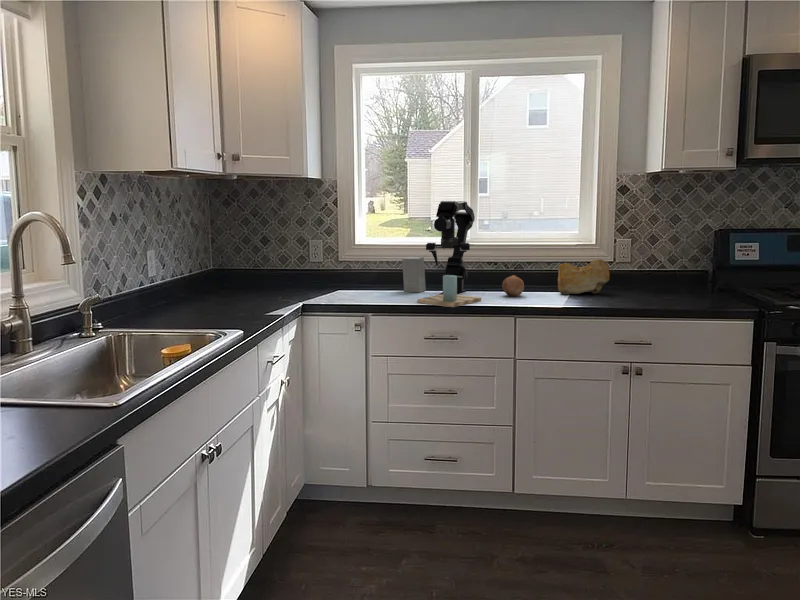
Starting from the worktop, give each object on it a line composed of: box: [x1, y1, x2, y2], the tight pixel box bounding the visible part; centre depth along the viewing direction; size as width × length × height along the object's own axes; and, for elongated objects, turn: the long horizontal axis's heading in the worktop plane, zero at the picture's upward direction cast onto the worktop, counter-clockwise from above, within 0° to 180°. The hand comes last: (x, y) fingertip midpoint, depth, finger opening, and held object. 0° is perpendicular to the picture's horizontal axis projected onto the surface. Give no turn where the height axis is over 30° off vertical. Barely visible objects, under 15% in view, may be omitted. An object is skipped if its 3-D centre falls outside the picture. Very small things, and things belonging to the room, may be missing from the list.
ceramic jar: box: [442, 274, 458, 302], centre depth 270 cm, size 6×6×10 cm
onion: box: [501, 274, 525, 297], centre depth 290 cm, size 10×9×10 cm
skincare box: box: [401, 256, 427, 293], centre depth 304 cm, size 8×7×16 cm
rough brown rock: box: [557, 259, 611, 295], centre depth 298 cm, size 23×17×15 cm
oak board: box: [417, 293, 482, 308], centre depth 276 cm, size 20×18×2 cm
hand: (447, 266), depth 290 cm, fingers open, 9 cm apart
